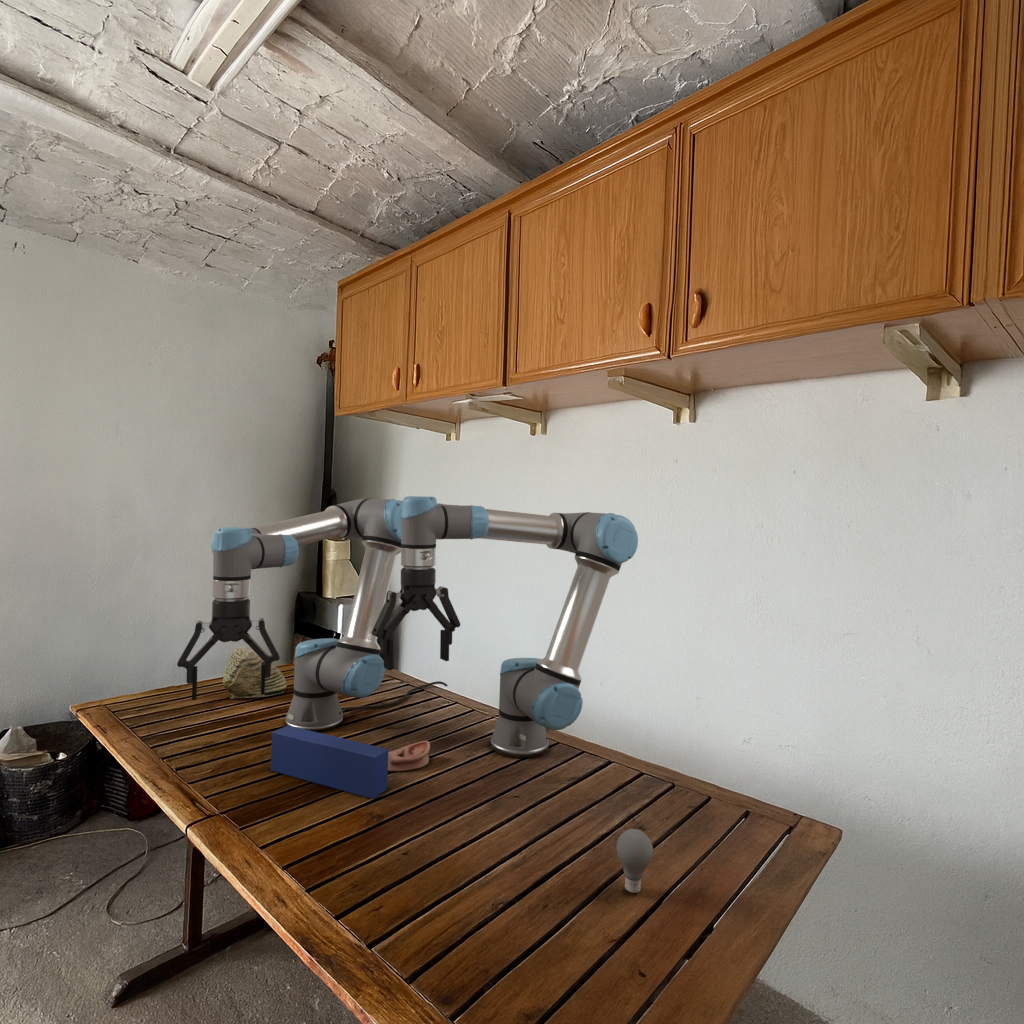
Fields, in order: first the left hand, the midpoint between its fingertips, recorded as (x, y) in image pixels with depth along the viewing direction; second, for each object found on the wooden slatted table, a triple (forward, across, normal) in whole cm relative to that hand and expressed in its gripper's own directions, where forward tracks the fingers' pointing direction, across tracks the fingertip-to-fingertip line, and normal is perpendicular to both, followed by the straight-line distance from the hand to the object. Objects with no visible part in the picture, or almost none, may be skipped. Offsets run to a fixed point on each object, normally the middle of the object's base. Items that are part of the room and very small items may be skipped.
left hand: (229, 695), depth 138 cm
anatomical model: (+20, +38, -1) cm, 43 cm away
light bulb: (+19, +63, -62) cm, 91 cm away
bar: (+19, +21, -5) cm, 29 cm away
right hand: (-8, +38, -16) cm, 42 cm away
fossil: (+20, +6, +62) cm, 65 cm away
